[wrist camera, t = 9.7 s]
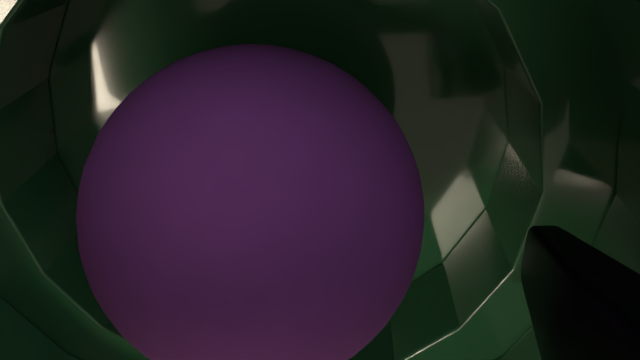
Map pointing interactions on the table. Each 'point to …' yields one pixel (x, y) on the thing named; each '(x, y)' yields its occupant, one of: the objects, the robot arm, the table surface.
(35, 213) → the bowl
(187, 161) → the ball
